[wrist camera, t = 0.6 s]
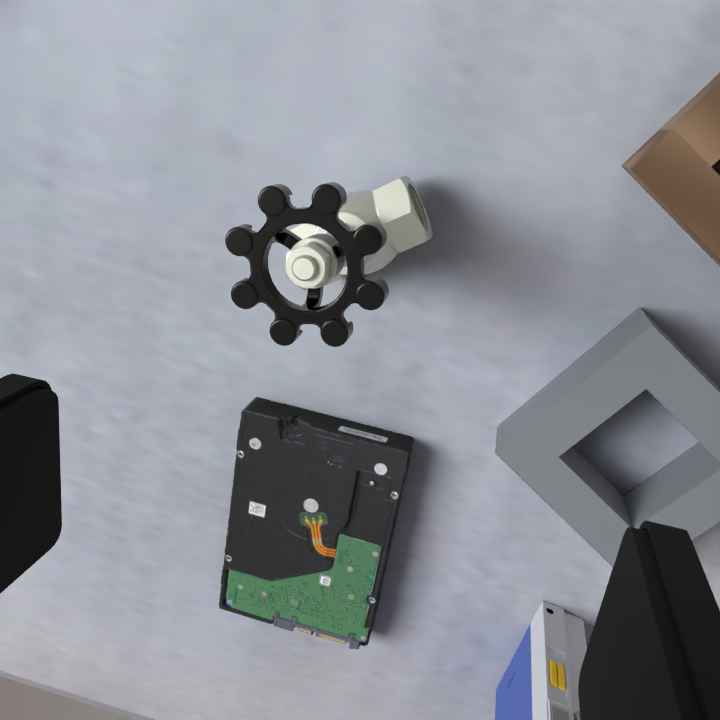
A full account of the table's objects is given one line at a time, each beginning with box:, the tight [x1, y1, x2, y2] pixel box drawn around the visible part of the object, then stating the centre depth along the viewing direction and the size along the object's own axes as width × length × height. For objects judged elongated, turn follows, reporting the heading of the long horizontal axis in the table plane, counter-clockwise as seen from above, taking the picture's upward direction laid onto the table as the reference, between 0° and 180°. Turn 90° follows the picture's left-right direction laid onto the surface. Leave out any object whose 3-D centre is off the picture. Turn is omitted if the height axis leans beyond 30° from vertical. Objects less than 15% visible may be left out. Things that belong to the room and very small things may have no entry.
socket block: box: [495, 308, 720, 567], centre depth 35 cm, size 10×10×4 cm
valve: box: [225, 175, 433, 347], centre depth 31 cm, size 7×7×12 cm
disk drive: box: [219, 397, 413, 649], centre depth 43 cm, size 10×3×15 cm
